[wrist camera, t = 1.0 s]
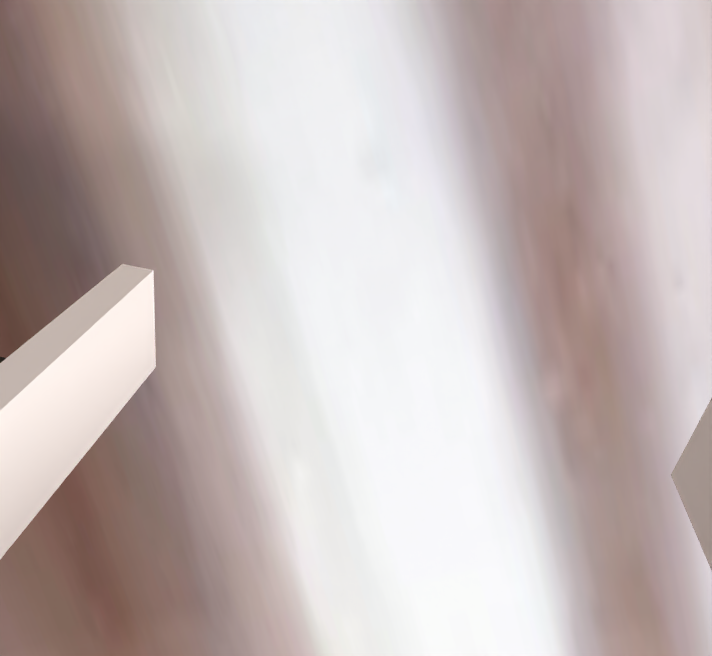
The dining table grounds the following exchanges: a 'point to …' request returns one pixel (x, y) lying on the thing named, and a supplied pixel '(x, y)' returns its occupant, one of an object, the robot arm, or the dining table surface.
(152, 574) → the dining table surface
